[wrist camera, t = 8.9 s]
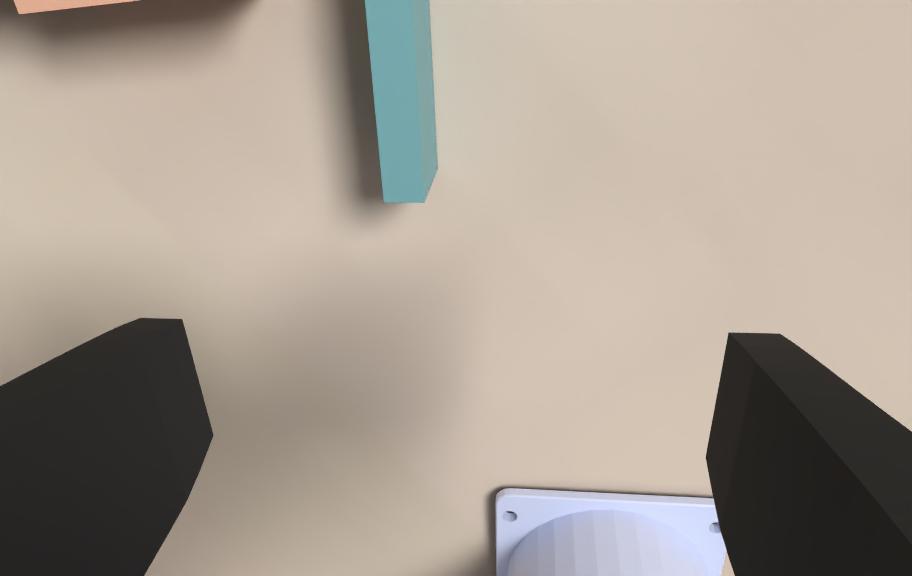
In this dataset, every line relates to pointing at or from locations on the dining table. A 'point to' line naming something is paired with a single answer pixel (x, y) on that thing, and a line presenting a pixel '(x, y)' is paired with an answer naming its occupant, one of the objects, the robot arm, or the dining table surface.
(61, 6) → the salmon pink block
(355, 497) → the dining table surface
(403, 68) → the box
